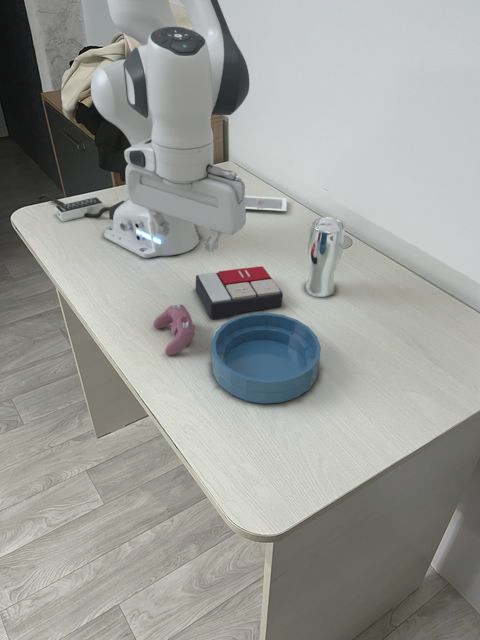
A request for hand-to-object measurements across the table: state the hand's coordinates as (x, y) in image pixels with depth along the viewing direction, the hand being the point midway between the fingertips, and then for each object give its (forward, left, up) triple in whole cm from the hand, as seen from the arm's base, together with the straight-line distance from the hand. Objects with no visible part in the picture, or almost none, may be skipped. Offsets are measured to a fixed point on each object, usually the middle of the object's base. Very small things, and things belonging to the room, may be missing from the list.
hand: (186, 241), depth 88 cm
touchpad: (-16, +55, -20) cm, 60 cm away
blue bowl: (+16, -1, -20) cm, 25 cm away
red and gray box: (+1, +15, -20) cm, 25 cm away
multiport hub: (-51, +27, -20) cm, 61 cm away
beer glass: (+14, +27, -20) cm, 36 cm away
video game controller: (-2, -2, -20) cm, 20 cm away
